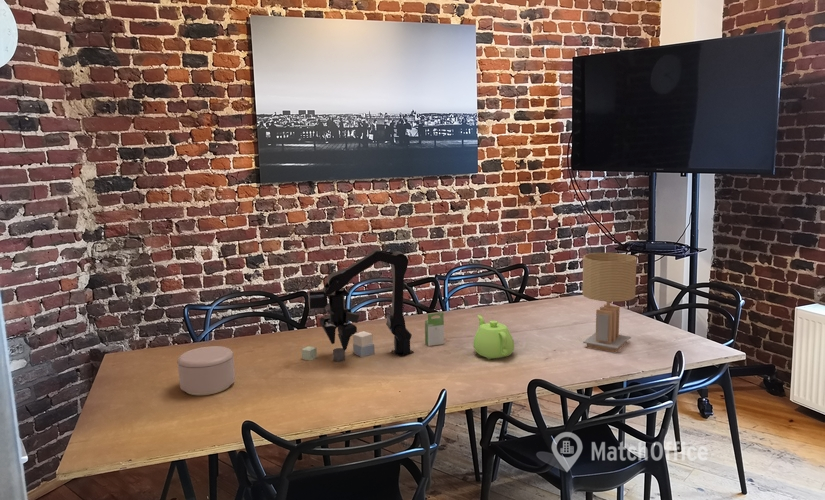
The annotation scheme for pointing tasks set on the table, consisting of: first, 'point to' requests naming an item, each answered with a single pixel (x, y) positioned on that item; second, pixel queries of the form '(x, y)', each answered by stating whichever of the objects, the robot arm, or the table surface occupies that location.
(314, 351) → the sage block
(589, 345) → the desk lamp
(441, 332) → the ink box
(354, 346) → the tower base
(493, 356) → the teapot
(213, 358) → the container
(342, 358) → the dark grey cylinder
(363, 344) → the tower top
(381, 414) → the table surface
